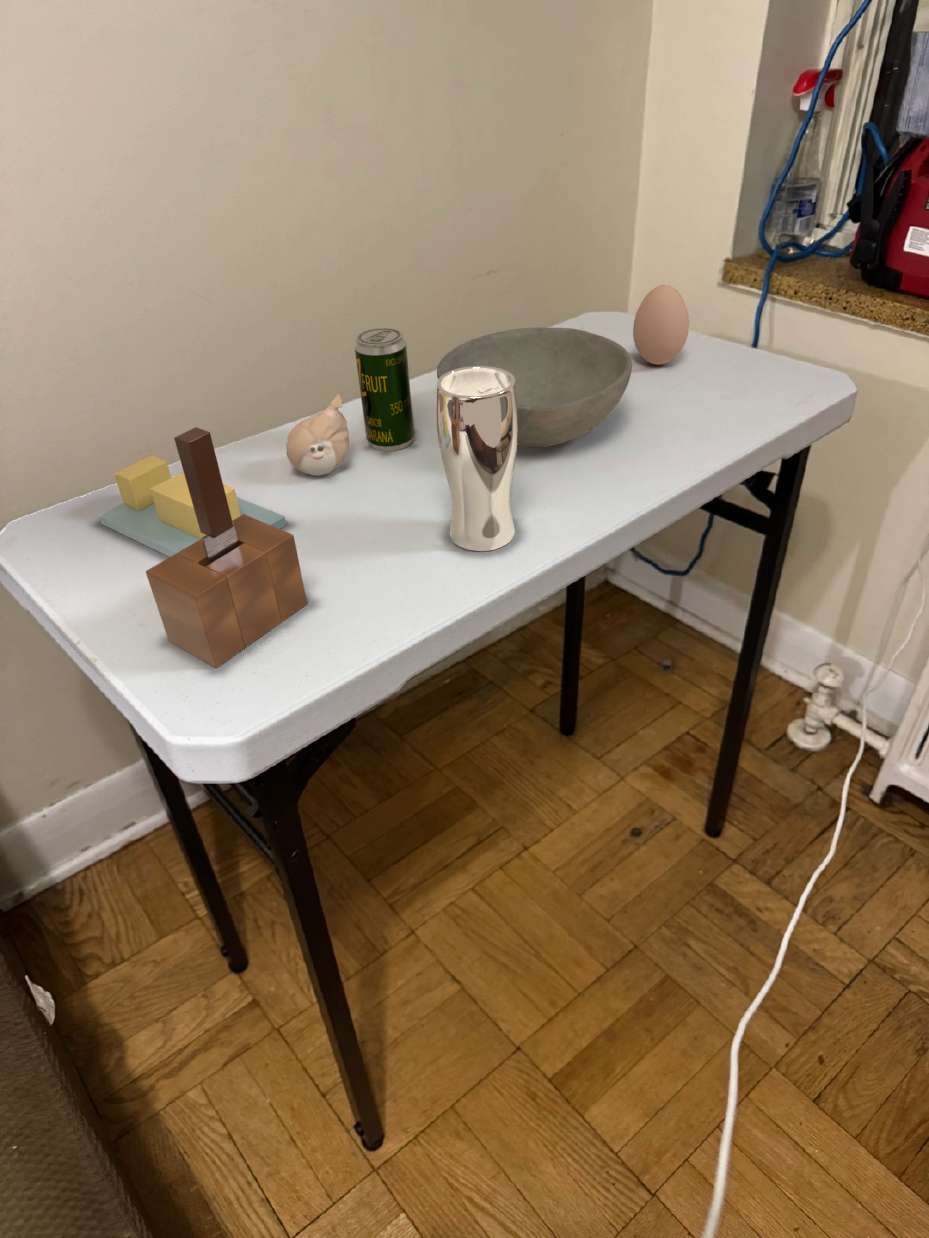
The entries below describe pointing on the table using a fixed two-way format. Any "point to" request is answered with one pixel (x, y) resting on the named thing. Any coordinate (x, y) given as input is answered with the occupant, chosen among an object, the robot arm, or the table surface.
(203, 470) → the knife
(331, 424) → the garlic bulb
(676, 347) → the egg
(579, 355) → the bowl
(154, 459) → the butter slice
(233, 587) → the knife block
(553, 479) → the table surface
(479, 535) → the beer glass
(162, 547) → the butter dish
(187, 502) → the butter
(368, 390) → the green soda can
